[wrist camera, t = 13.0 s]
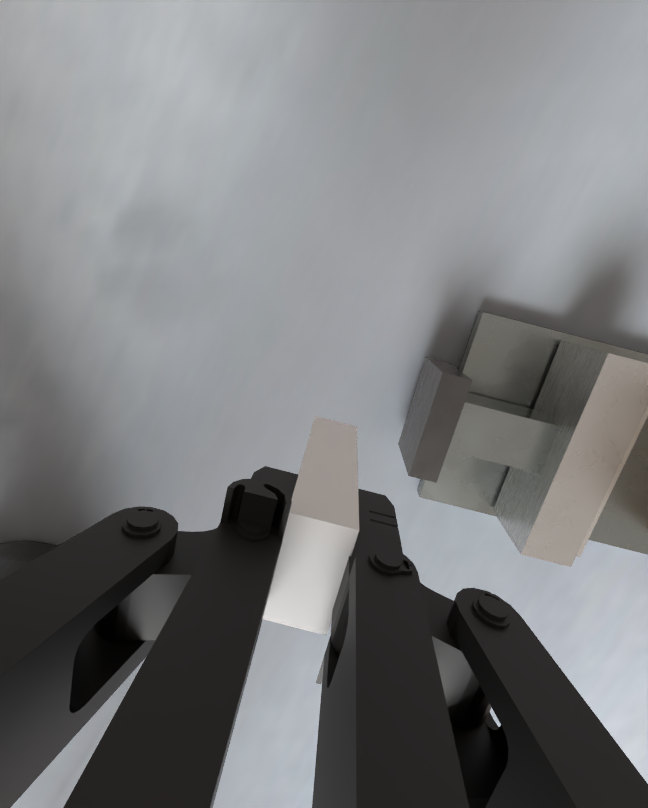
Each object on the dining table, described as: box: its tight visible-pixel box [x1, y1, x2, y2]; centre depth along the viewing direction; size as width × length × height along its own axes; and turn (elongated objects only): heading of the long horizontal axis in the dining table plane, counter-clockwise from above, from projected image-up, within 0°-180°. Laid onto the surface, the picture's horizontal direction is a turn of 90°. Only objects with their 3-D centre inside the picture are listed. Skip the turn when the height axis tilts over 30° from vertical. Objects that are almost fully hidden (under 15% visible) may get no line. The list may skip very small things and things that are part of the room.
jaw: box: [398, 341, 648, 567], centre depth 25 cm, size 11×12×5 cm
